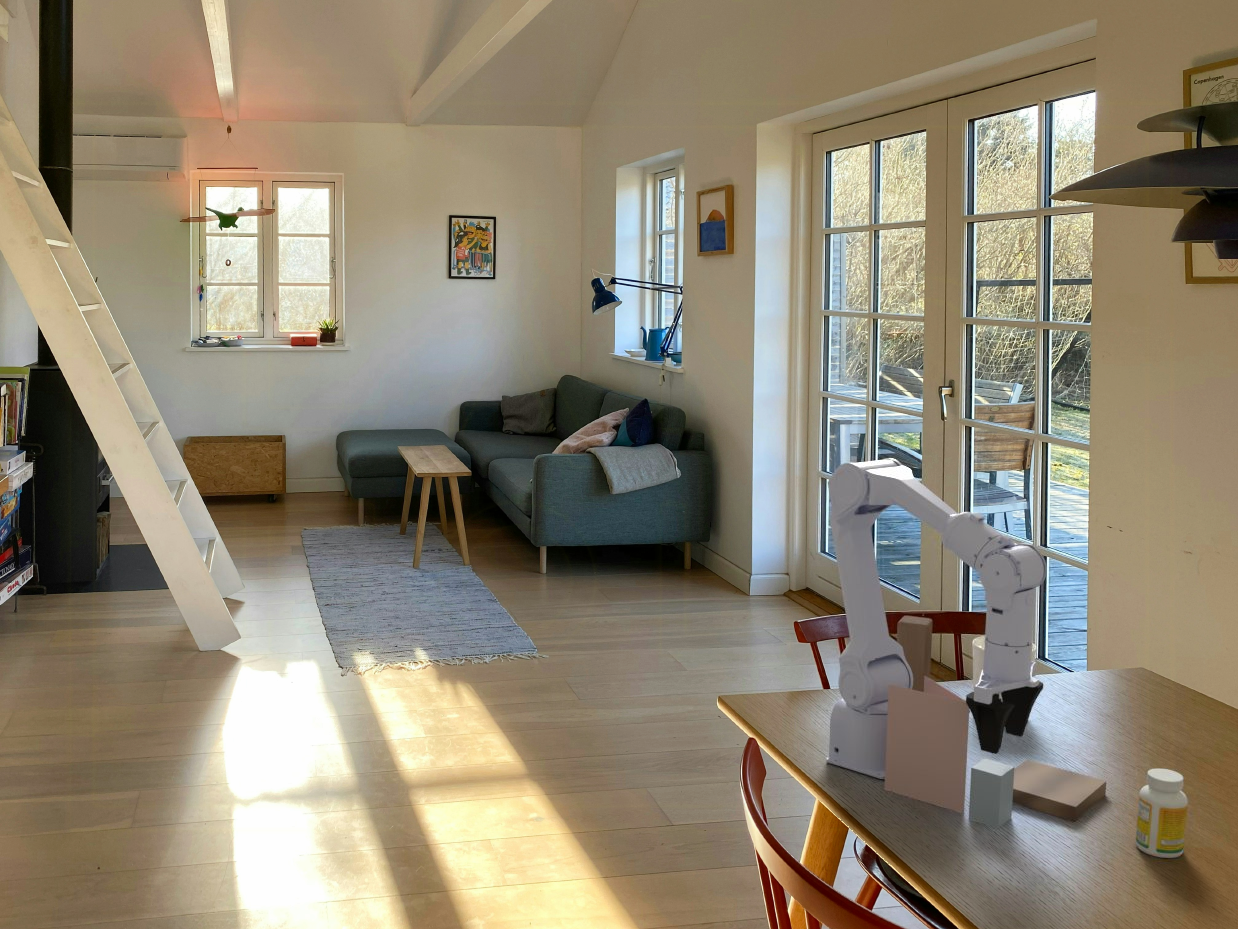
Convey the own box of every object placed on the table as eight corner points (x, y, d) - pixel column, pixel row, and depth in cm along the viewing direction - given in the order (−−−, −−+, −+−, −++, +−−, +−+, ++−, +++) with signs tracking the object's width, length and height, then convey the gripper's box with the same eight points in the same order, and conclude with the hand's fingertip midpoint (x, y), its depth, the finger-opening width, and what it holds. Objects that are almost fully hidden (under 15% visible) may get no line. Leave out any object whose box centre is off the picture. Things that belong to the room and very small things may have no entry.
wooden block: (957, 735, 179) (963, 622, 176) (952, 745, 175) (957, 629, 172) (899, 725, 183) (903, 614, 180) (892, 734, 179) (897, 621, 176)
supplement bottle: (1128, 849, 142) (1134, 774, 141) (1144, 835, 146) (1149, 762, 145) (1175, 864, 138) (1181, 787, 137) (1189, 849, 142) (1195, 774, 141)
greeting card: (969, 812, 152) (975, 702, 150) (918, 819, 150) (923, 707, 148) (925, 778, 163) (930, 675, 161) (877, 783, 161) (881, 679, 159)
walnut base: (993, 797, 157) (993, 783, 156) (1026, 772, 165) (1027, 759, 165) (1074, 821, 149) (1075, 807, 149) (1105, 795, 158) (1106, 781, 157)
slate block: (968, 819, 150) (971, 767, 149) (982, 809, 153) (984, 758, 152) (998, 828, 148) (1001, 776, 146) (1011, 818, 150) (1014, 766, 149)
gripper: (1015, 660, 139) (1009, 768, 141) (1061, 634, 150) (1054, 735, 152) (960, 648, 143) (954, 752, 145) (1008, 623, 154) (1002, 721, 156)
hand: (1002, 742), depth 149 cm, fingers open, 7 cm apart
